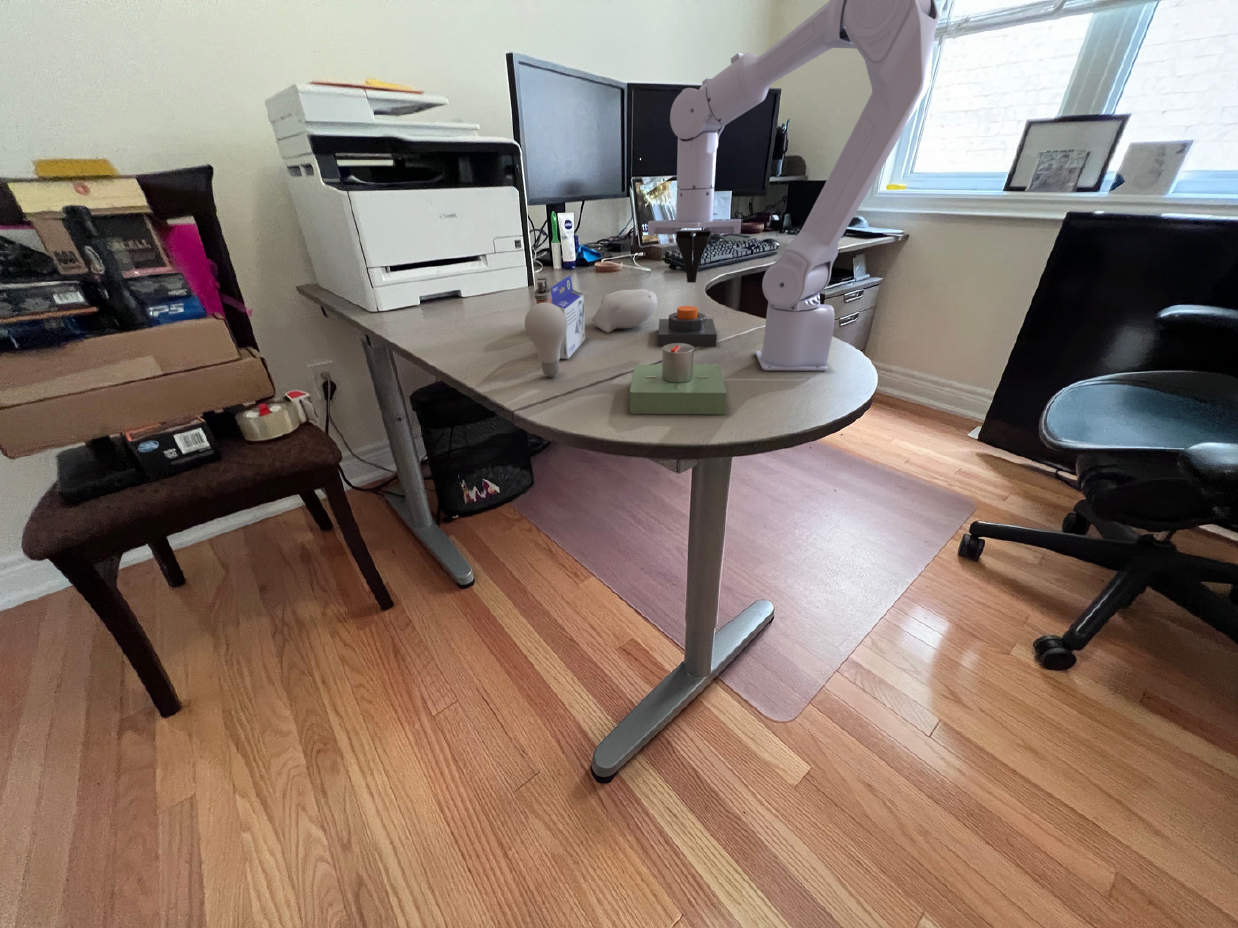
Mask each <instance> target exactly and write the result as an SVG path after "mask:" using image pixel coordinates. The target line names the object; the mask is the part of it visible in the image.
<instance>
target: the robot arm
mask: <svg viewBox="0 0 1238 928" xmlns="http://www.w3.org/2000/svg"><path fill="white" fill-rule="evenodd" d="M939 21H940V13H939V10H938V7H937V3H936V0H828V1H827V2H826V3H825V4H823V5H822V6H821V7H820V8H818V9H817V10H816V11H815V12H813V13H812V14H811V15H810V16H808V17H807V18H806V19H805V20H804V21H802V22H801V23H800V24H799V25H797V26H796V27H795V28H794V29H792V30H791V31H789V33H787V34H785V35H784V36H783V37H782V38H781V39H780V40H778V41H777V42H775V44H773V45H772V46H771V47H770V48H768V49H767V50H765V51H764V52H763V53H762V54H761V55H757V54H756V53H753V52H745V53H740V52H737V53H736V54H734V55H733V56H732V57H731V58H730V63H731V64H730V65H728V66H726V68H724V69H723V70H721V71H720V72H719V73H717V74H716V75H715V76H713V77H707V78H705V79H704V80H702V82H701V86H700V87H699V89H697V88H694V87H693V88H692V87H687V88H684V89H682V90H681V92H680V93H679V94H678V95H677V96H676V97H675V99H674V101H673V103H672V105H671V109H670V114H669V121H670V123H669V124H670V127H671V130H672V132H673V133H674V135H675V136H676V137H677V155H676V157H677V160H676V203H675V204H676V205H675V206H676V207H675V208H676V209H675V212H676V213H675V219H666V220H665V219H664V220H662V219H661V220H649V221H648V222H647V236H656V235H675V236H676V237H675V242H676V245H677V247H678V249H679V252H680V255H681V257H682V260H683V265H684V268H685V274H686V283H688V284H689V283H693V284H694V283H695V284H696V283H697V280H698V279H697V278H698V277H697V276H698V272H699V268H700V264H701V261H702V258H703V255H704V253H705V250H706V248H707V246H708V243H709V242H710V239H711V237H712V235H715V234H733V235H740V234H741V230H742V229H741V228H742V219H741V218H714V200H715V183H716V168H717V167H716V163H717V150H718V148H719V139H720V136H721V134H722V132H723V131H724V129H725V126H726V125H728V124H730V123H731V122H732V121H734V120H736V119H737V118H739V117H740V116H742V115H744V114H745V113H746V112H749V111H750V110H752V109H753V108H754V107H756V106H758V105H759V104H761V103H762V102H764V101H765V100H766V97H767V95H768V92H769V90H770V87H771V85H772V84H773V83H775V82H778V80H780V79H782V78H783V77H785V76H787V75H789V74H790V73H793V72H794V71H795V70H797V69H799V68H800V67H802V66H804V65H805V64H807V63H809V62H810V61H812V60H814V59H816V58H817V57H820V56H821V55H823V54H824V53H826V52H828V51H829V50H831V49H853V50H854V49H856V50H857V52H858V53H859V54H860V55H861V57H862V58H863V60H864V64H865V67H866V71H867V74H868V79H869V82H870V86H871V94H870V96H869V98H868V100H867V102H866V104H865V106H864V108H863V109H862V111H861V114H860V116H859V117H858V119H857V122H856V123H855V126H854V127H853V128H852V131H851V133H850V135H849V137H848V139H847V141H846V143H845V144H844V147H843V149H842V150H841V152H840V154H839V156H838V158H837V160H836V162H835V164H834V166H833V167H832V170H831V172H830V173H829V175H828V178H827V180H826V181H825V183H824V185H823V187H822V189H821V191H820V193H819V195H818V196H817V198H816V200H815V203H814V204H813V207H812V208H811V211H810V212H809V214H808V216H807V218H806V220H805V222H804V224H803V226H802V228H801V230H800V231H799V233H798V234H796V236H794V238H792V240H791V241H790V242H788V244H787V245H786V246H785V248H784V249H783V251H782V253H781V255H780V257H779V258H778V259H777V260H776V261H775V262H773V263H772V264H771V265H770V266H769V267H768V268H767V270H766V271H765V273H764V275H763V278H762V283H761V284H762V285H761V286H762V292H763V295H764V297H765V300H767V301H768V302H767V308H766V316H765V324H764V325H765V326H764V333H763V341H762V350H756V351H755V356H756V358H757V360H758V363H759V365H760V367H761V370H763V371H768V372H769V371H770V372H773V371H775V372H776V371H777V372H778V371H782V372H783V371H784V372H785V371H787V372H788V371H790V372H792V371H793V372H794V371H798V372H799V371H803V372H804V371H805V372H806V371H807V372H809V371H810V372H812V371H821V372H823V371H824V372H826V371H828V369H829V368H828V361H829V354H830V349H831V345H832V340H833V339H832V338H833V336H834V329H835V310H834V307H833V305H831V304H821V298H820V294H821V293H822V292H823V291H824V290H825V289H826V288H827V287H828V285H829V283H830V281H831V276H832V268H833V265H834V262H835V260H836V258H837V257H838V254H839V243H840V241H841V239H842V237H843V236H844V234H845V232H846V230H847V229H848V227H849V225H850V223H851V222H852V220H853V218H854V217H855V215H856V213H857V211H858V210H859V209H860V206H861V204H862V203H863V202H864V199H865V198H866V196H867V194H868V192H869V191H870V189H871V187H872V185H873V184H874V182H875V180H876V178H877V177H878V175H879V174H880V172H881V170H882V169H883V167H884V165H885V163H886V161H887V160H888V158H889V156H890V155H891V153H892V152H893V150H894V148H895V146H896V145H897V143H898V141H899V140H900V138H901V136H902V134H903V132H904V131H905V129H906V127H907V125H908V124H909V122H910V120H911V119H912V117H913V116H914V113H915V111H916V110H917V108H918V107H919V105H920V103H921V102H922V99H924V97H925V95H926V93H927V90H928V88H929V86H930V83H931V82H930V81H931V75H932V63H933V55H934V45H935V34H936V31H937V30H936V29H937V27H938V23H939ZM704 228H705V229H704Z"/></svg>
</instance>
